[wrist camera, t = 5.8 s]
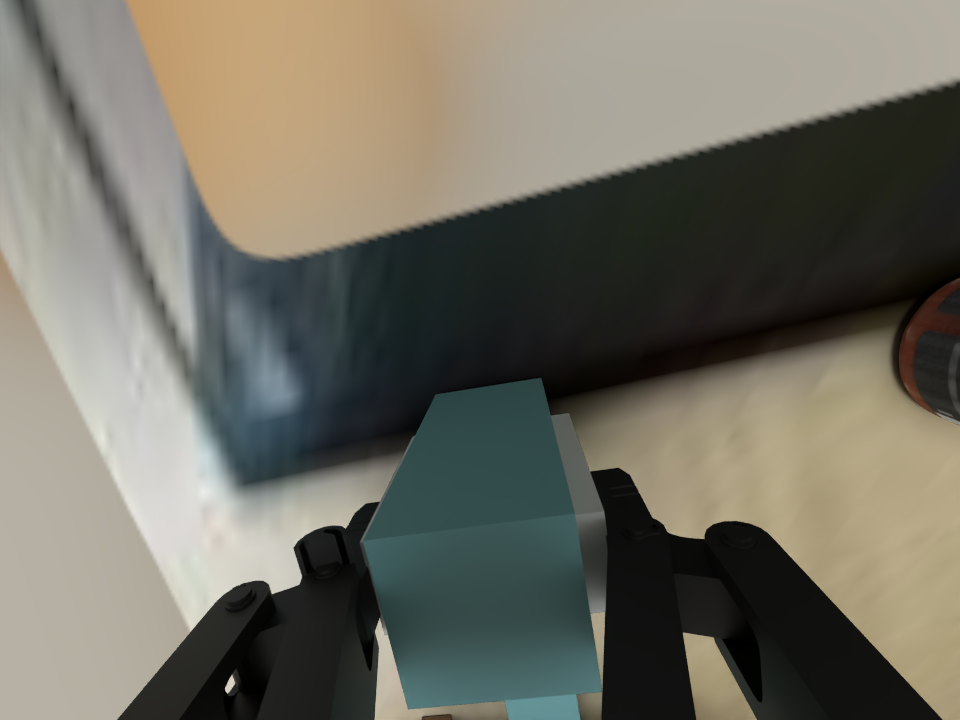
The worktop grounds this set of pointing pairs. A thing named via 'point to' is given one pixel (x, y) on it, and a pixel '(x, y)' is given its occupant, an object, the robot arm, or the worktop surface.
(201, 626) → the robot arm
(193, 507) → the worktop surface
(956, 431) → the worktop surface
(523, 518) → the teal stepped block
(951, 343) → the supplement bottle
